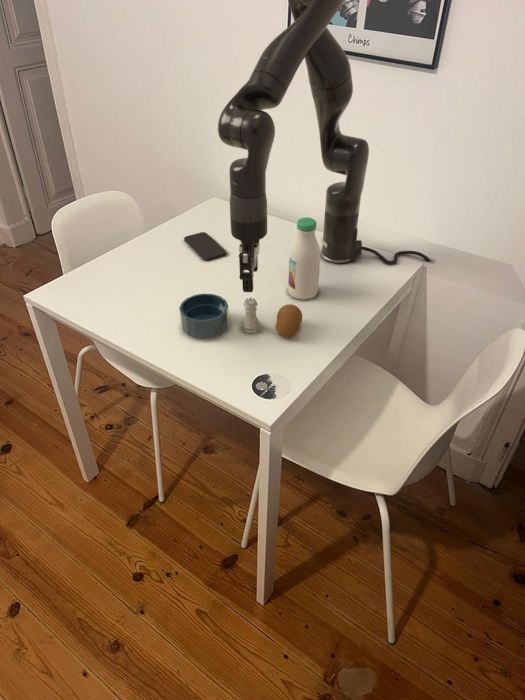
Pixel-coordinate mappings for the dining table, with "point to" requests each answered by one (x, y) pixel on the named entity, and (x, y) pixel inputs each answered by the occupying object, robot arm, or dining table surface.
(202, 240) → the phone
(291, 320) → the potato
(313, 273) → the milk bottle
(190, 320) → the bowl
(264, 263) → the dining table surface
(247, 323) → the rook chess piece
